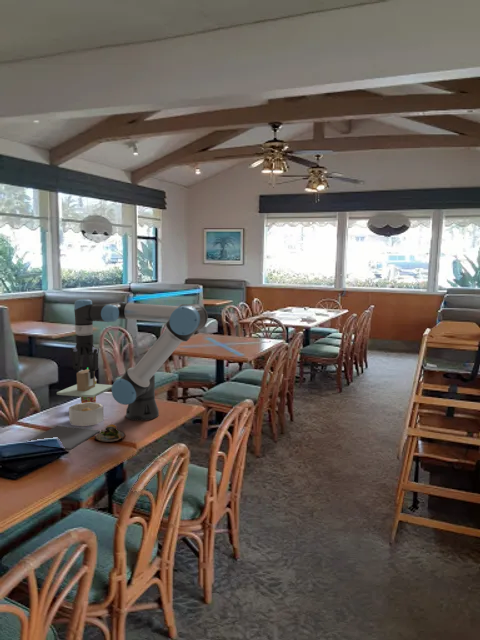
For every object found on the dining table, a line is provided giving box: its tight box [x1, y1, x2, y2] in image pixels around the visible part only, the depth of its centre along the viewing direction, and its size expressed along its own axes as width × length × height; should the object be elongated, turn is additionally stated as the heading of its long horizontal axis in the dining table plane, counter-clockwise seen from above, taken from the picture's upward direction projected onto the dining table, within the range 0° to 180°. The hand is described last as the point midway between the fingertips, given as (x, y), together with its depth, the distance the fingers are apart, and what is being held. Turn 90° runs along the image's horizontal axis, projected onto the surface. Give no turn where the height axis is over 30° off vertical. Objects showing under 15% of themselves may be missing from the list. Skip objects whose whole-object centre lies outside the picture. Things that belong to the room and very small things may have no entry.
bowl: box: [68, 402, 105, 427], centre depth 220 cm, size 14×14×6 cm
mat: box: [27, 425, 101, 451], centre depth 198 cm, size 21×21×1 cm
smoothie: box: [80, 367, 98, 403], centre depth 240 cm, size 8×8×20 cm
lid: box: [56, 368, 113, 398], centre depth 218 cm, size 18×18×9 cm
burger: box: [94, 423, 126, 443], centre depth 198 cm, size 12×12×8 cm
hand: (86, 385), depth 218 cm, fingers closed on lid, 4 cm apart
